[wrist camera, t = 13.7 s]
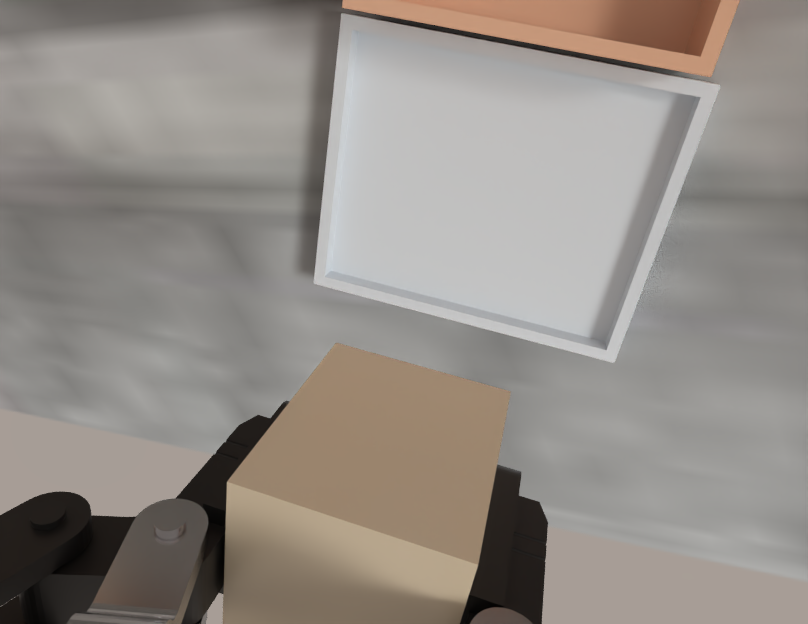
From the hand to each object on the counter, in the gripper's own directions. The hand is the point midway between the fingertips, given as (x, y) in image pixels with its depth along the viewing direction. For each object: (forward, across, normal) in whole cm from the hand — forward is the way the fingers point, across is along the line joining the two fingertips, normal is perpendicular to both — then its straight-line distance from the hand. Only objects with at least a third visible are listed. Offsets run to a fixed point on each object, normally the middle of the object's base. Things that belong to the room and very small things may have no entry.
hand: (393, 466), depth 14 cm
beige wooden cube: (+1, 0, 0) cm, 1 cm away
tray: (+15, 0, -3) cm, 15 cm away
